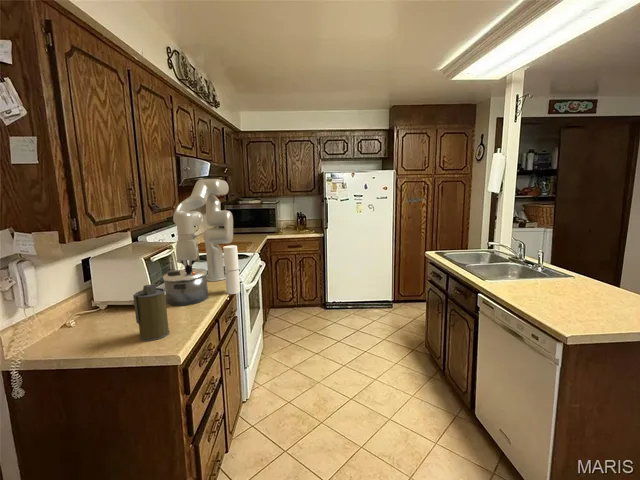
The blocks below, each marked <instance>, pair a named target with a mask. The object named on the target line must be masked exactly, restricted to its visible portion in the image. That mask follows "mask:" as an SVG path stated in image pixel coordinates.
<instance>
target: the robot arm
mask: <svg viewBox="0 0 640 480" xmlns="http://www.w3.org/2000/svg"><path fill="white" fill-rule="evenodd" d="M229 189H230V188H229V184H228V183H227V181H226V180H223V179H218V178H201V179H198V180H196V182H195V185H194V187H193V189H192V192H191V194H190V196H188V197H187V198H185V199H183V201H181V202H180V203H179V204H177V207H176V208H175V210H174V213H173V217H172V219H173V223H174V224H175V226H176V230H177V231H176V232H177V240H176V245H175V257H176V263H179V264H182V265H183V266H184V269H185V272H187V274H191V272H192V269H193V265H194V264H195V263H197V262H200V252H199V247H198V246H199V245H198V243H197V242H198V241H197V237H198V235H197V234H195V231H194V227H196V226H200V225H202V224H203V222H204V216H203V214H202V212H200V211H196V209H198V208H201V207H203V206H205V220H206V225H208V226H209V228H207V229H205V230H204V231H203V234H202V237H203V240H204V241H203V242H204V245H205V253H206V265H207V282H217V281H218V282H219V281H223V280H226V278H225V265H224V251H223V248H222V247H221V246H220V245H221V244H222V245H223V244H231V243H232V242H233V239H234V216H233V213H232V212H231V211H230V210H224V209H223V210H221V201H220V200H219V198H218V197H217V196H226V195H227V194H228V193H229ZM210 227H211V228H210Z"/></svg>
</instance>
